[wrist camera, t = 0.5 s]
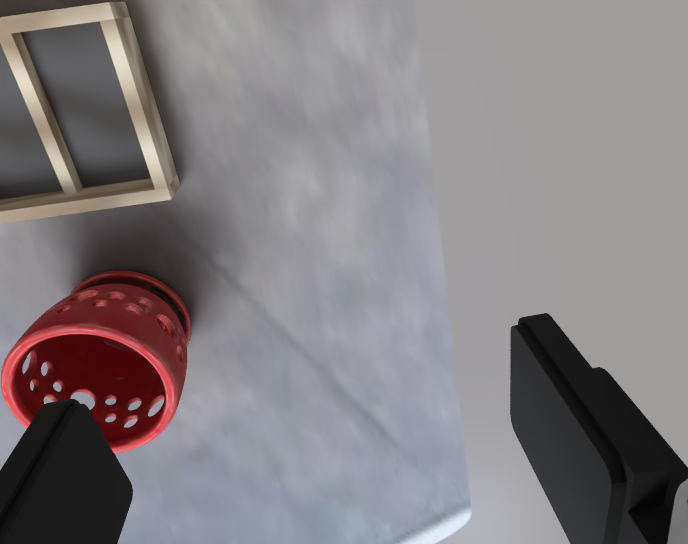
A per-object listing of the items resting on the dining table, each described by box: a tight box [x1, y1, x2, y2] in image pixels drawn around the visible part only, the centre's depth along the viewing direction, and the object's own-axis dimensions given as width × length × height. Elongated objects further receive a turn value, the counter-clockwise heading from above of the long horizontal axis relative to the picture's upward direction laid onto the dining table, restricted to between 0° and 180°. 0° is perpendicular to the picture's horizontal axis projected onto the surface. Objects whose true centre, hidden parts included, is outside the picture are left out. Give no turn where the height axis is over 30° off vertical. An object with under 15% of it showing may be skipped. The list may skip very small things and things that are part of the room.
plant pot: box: [1, 270, 191, 453], centre depth 43 cm, size 13×13×12 cm
